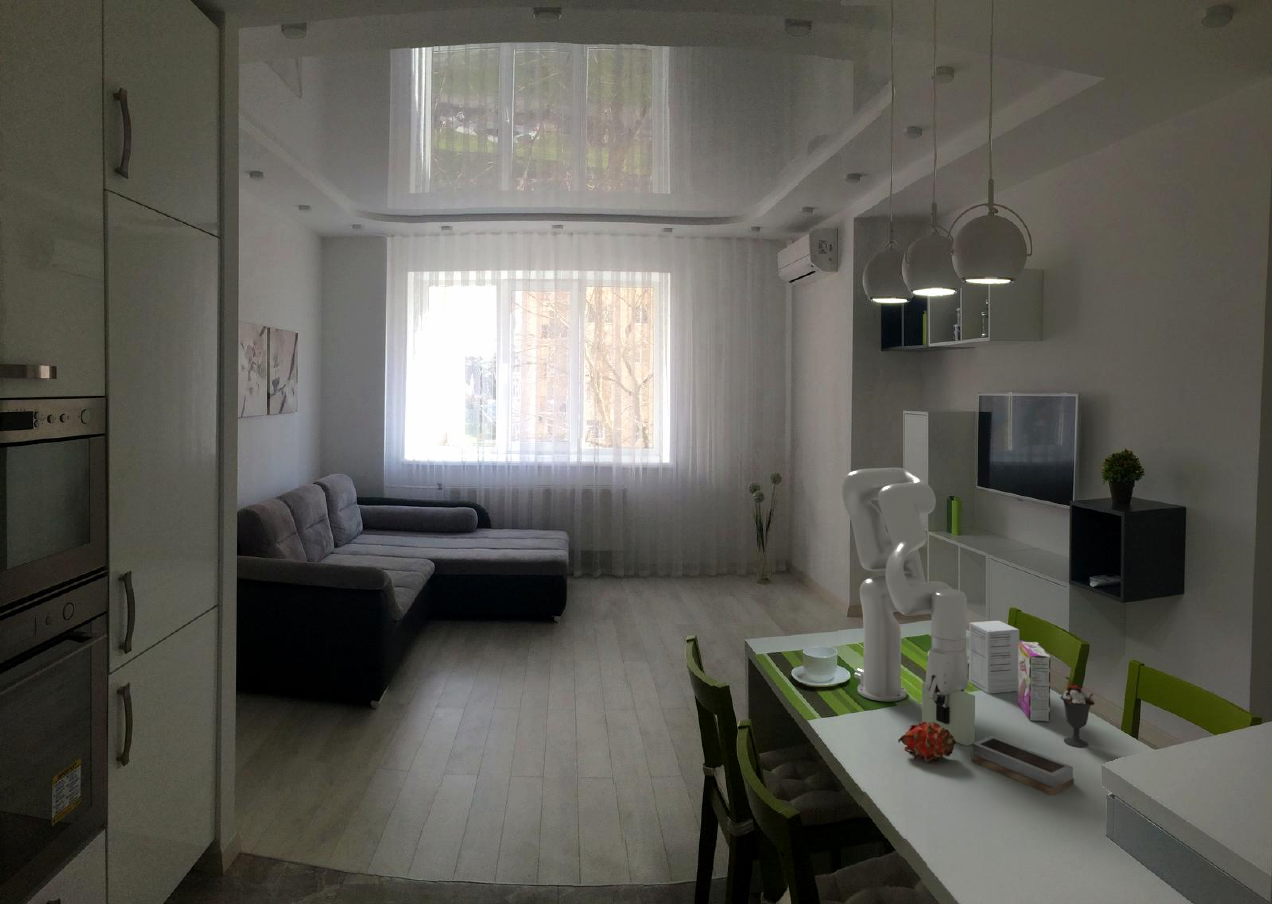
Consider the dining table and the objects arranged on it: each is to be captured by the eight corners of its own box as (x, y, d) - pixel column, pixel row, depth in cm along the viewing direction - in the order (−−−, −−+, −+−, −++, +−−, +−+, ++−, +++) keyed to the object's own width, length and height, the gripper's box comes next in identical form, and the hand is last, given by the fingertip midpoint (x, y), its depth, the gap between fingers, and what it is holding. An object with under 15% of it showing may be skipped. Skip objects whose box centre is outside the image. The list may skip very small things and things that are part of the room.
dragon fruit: (960, 769, 174) (902, 771, 177) (954, 734, 180) (898, 736, 184) (958, 748, 169) (898, 750, 172) (951, 712, 175) (894, 715, 178)
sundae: (1052, 737, 185) (1054, 673, 184) (1080, 735, 186) (1082, 672, 184) (1070, 750, 178) (1072, 684, 177) (1099, 748, 179) (1101, 682, 178)
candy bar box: (1016, 703, 205) (1017, 640, 204) (1037, 704, 204) (1038, 641, 203) (1028, 721, 194) (1029, 655, 193) (1050, 722, 193) (1052, 656, 192)
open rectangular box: (970, 760, 174) (971, 744, 174) (993, 751, 179) (993, 735, 178) (1051, 794, 159) (1052, 776, 159) (1073, 783, 163) (1074, 766, 163)
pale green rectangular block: (921, 727, 191) (922, 682, 191) (930, 724, 193) (930, 680, 192) (966, 746, 181) (966, 698, 181) (974, 742, 183) (975, 695, 182)
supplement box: (1020, 692, 213) (1021, 629, 211) (988, 694, 211) (988, 631, 210) (998, 679, 222) (999, 619, 221) (967, 681, 221) (968, 621, 219)
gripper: (956, 632, 193) (955, 707, 195) (912, 645, 184) (911, 723, 186) (984, 640, 187) (983, 717, 188) (940, 654, 178) (939, 734, 179)
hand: (947, 719), depth 187 cm, fingers closed on pale green rectangular block, 3 cm apart
